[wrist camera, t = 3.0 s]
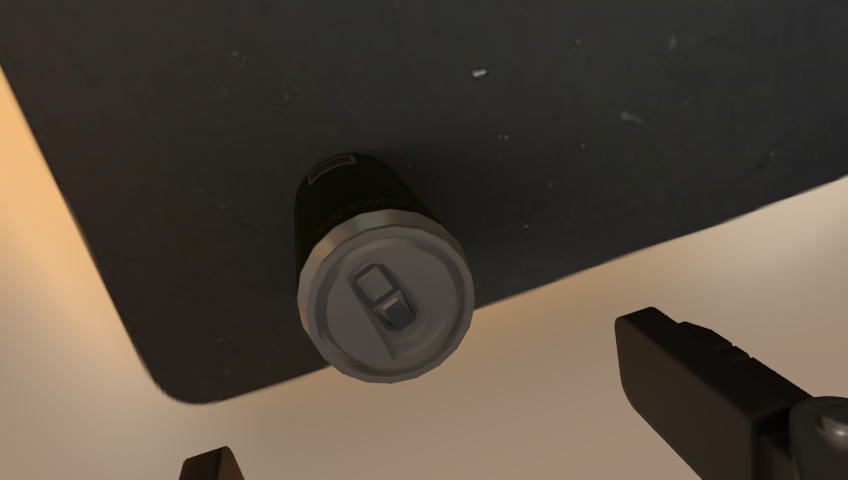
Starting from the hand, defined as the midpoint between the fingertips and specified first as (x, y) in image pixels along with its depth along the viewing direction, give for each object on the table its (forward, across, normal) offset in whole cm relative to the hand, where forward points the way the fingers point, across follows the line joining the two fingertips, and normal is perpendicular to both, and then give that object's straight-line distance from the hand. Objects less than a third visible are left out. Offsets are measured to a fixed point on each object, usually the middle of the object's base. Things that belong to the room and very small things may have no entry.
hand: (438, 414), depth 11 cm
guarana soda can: (+18, 0, 0) cm, 18 cm away
